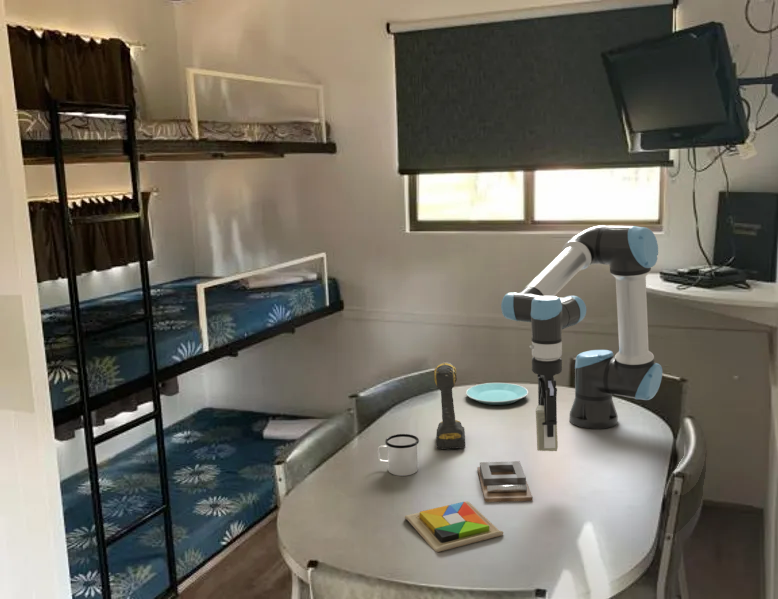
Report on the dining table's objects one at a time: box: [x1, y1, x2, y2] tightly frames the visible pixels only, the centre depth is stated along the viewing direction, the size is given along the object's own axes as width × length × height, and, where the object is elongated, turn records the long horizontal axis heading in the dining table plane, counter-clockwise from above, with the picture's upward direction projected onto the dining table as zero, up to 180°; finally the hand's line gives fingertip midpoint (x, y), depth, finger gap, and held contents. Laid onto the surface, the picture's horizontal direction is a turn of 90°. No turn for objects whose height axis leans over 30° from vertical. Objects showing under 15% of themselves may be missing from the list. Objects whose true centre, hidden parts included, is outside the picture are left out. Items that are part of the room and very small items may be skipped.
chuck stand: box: [477, 460, 533, 503], centre depth 205 cm, size 12×20×3 cm, turn 179°
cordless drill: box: [433, 361, 466, 450], centre depth 236 cm, size 9×20×25 cm, turn 174°
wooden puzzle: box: [404, 501, 504, 553], centre depth 182 cm, size 18×19×4 cm
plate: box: [465, 382, 529, 406], centre depth 277 cm, size 22×22×3 cm
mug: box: [377, 433, 420, 477], centre depth 217 cm, size 12×10×9 cm
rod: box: [487, 485, 527, 493], centre depth 198 cm, size 10×2×2 cm, turn 89°
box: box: [535, 405, 559, 452], centre depth 200 cm, size 5×4×11 cm
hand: (547, 443), depth 201 cm, fingers closed on box, 5 cm apart
